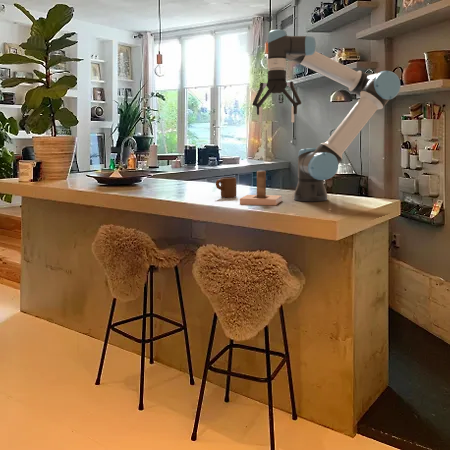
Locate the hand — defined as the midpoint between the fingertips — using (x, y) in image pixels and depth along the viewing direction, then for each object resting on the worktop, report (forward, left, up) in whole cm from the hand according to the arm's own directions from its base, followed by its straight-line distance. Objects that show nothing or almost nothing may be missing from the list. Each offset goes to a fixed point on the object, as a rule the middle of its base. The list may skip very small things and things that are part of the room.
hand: (276, 122), depth 221 cm
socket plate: (-6, -8, -35) cm, 36 cm away
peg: (-6, -8, -35) cm, 36 cm away
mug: (-21, -29, -35) cm, 50 cm away
